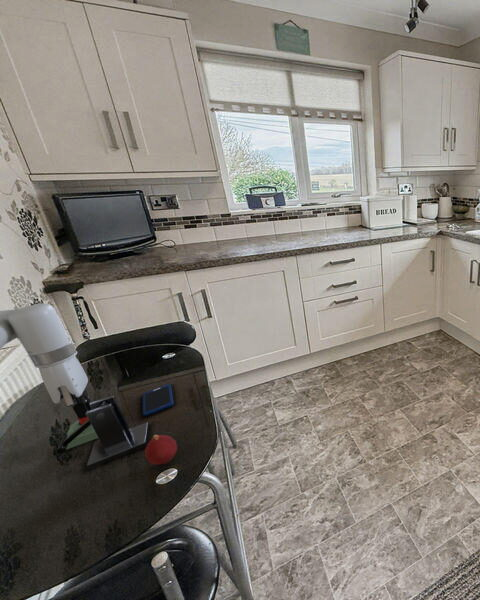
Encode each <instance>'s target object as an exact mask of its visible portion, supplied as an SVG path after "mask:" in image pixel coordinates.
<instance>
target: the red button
mask: <svg viewBox="0 0 480 600" xmlns="http://www.w3.org/2000/svg"><path fill="white" fill-rule="evenodd" d="M77 420H78V421H79V423H80V424H81V425H83V424H84V423H85V422H86V421H87V420H88V417H84V418H81V419H79V418H78V417H77Z"/></svg>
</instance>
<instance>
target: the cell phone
mask: <svg viewBox="0 0 480 600" xmlns="http://www.w3.org/2000/svg"><path fill="white" fill-rule="evenodd" d="M174 405H175V403H174V396H173V390H172V385H171V384H170V383H167V384H165V385H162V386H159V387H156V388H154V389H151V390H148V391H145V392H143V393H142V415H143V417H148V416H150V415H151V416H152V415H153V414H156V413H158V412H160V411H163V410H166V409H168V408H171V407H173V406H174Z"/></svg>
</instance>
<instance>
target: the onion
mask: <svg viewBox="0 0 480 600" xmlns="http://www.w3.org/2000/svg"><path fill="white" fill-rule="evenodd" d="M177 451H178V444H177V441H176V440H175V438H173V437H172V436H170V435H165V434H159V435H158V434H154V435H153V436H152V438H151V440H150V441H149V442H147V446H146V447H145V450H144V456H145V459H146V461H147V462H148V463H150V464H152V465H154V466H155V465H160V466H161V465H166V464H169V463H170V462H171V461H172V459H173V458H174V457H175V456H176V454H177Z"/></svg>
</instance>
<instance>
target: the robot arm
mask: <svg viewBox="0 0 480 600" xmlns="http://www.w3.org/2000/svg"><path fill="white" fill-rule="evenodd" d="M16 339H18V340H19V342H20V343H21V345H22V347H23V349H24V350H25V352H26V353H27V356H28V357H29V358H30V360H31V363H32V364H33V365H34V367H35V368H36V369H38V371H39V374H40V377H41V379H42V382H43V384H44V387H45V388H46V390H47V393H48V394H49V397H50V399H51V400H52V403H53V404H54V405H59V404H61V402H62V400H63V399H64V401H65V404H66V406H67V408H70V407H71V408H72V409H73V411H74V413H75V415H76V417H77V419H78V418H79V419H81V418H84V417H87V416H86V412H87V411H90V410H92V409H91V407H90V403H91V402H92V400H91V398H90V396H89V394H88V391H87V389H86V387H87V385H88V382H89V378H88V376H87V374H86V371H85V370H84V368H83V366H82V364H81V363H80V361H79V359H78V358H77V355H78V351H77V349H76V347H75V345H74V343H73V342H72V339H71V338H70V336H69V334H68V332H67V330H66V328H65V326H64V324H63V322H62V320H61V319H60V317H59V314H58V313H57V310H56V309H55V307H54V306H53V305H52V304H50V303H36V304H31V305H27V306H22V307H20V308H16V309H15V308H14V309H7V310H0V350H1V349H3V348H4V347H5V345H7V344H9V343H10V342H12V341H14V340H16Z"/></svg>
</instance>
